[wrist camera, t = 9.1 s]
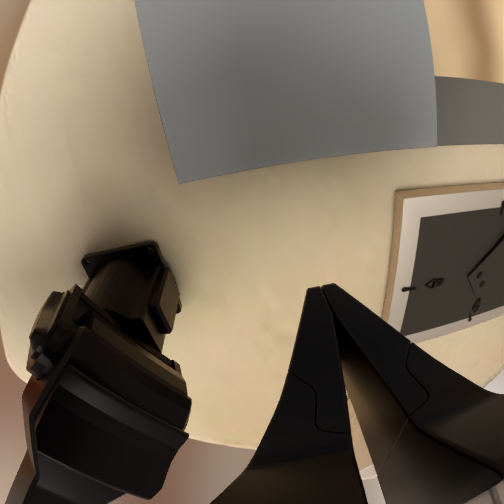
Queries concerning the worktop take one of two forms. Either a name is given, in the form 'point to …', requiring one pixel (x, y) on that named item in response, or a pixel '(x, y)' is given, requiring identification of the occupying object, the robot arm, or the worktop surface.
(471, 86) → the rubber mat
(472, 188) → the picture frame
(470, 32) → the coaster
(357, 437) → the white cup
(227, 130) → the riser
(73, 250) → the worktop surface
